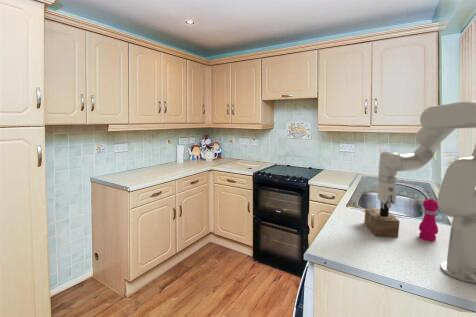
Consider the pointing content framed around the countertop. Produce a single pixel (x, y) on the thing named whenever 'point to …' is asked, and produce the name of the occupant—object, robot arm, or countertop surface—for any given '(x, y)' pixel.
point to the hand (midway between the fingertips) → (383, 216)
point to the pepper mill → (429, 220)
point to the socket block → (381, 224)
